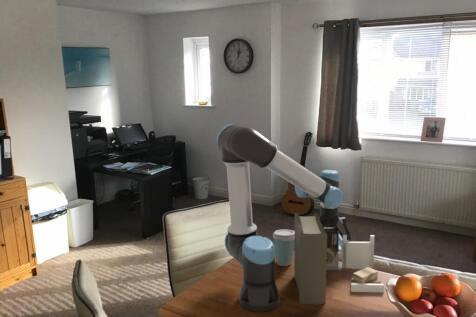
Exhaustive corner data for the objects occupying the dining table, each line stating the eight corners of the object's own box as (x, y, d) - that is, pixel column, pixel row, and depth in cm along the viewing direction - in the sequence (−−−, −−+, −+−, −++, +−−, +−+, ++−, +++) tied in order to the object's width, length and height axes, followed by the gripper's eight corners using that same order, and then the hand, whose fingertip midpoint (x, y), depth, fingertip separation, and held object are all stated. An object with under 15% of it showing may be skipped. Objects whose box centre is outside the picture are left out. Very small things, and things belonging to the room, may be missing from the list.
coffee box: (338, 261, 183) (339, 226, 180) (338, 267, 177) (339, 232, 174) (317, 259, 185) (317, 225, 182) (316, 266, 179) (317, 230, 176)
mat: (317, 269, 176) (317, 268, 176) (315, 259, 186) (315, 258, 186) (341, 270, 176) (341, 269, 175) (338, 260, 185) (338, 258, 185)
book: (325, 305, 150) (327, 234, 144) (299, 305, 150) (300, 234, 144) (316, 276, 171) (318, 212, 165) (294, 276, 171) (294, 212, 165)
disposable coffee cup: (269, 260, 187) (268, 228, 184) (290, 256, 190) (290, 225, 187) (278, 270, 177) (278, 237, 174) (300, 266, 180) (301, 234, 177)
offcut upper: (362, 284, 158) (362, 277, 158) (353, 279, 162) (353, 273, 162) (377, 277, 163) (377, 271, 163) (367, 273, 167) (368, 266, 166)
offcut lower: (356, 291, 159) (356, 284, 159) (350, 285, 164) (351, 278, 163) (380, 288, 161) (380, 281, 160) (374, 282, 165) (374, 275, 165)
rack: (350, 291, 158) (351, 255, 155) (341, 267, 178) (342, 234, 175) (384, 292, 157) (386, 255, 154) (372, 268, 177) (373, 235, 174)
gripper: (301, 208, 173) (301, 257, 177) (359, 209, 171) (357, 258, 175) (300, 203, 180) (300, 250, 185) (355, 203, 178) (354, 250, 182)
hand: (328, 254), depth 180 cm, fingers open, 11 cm apart
